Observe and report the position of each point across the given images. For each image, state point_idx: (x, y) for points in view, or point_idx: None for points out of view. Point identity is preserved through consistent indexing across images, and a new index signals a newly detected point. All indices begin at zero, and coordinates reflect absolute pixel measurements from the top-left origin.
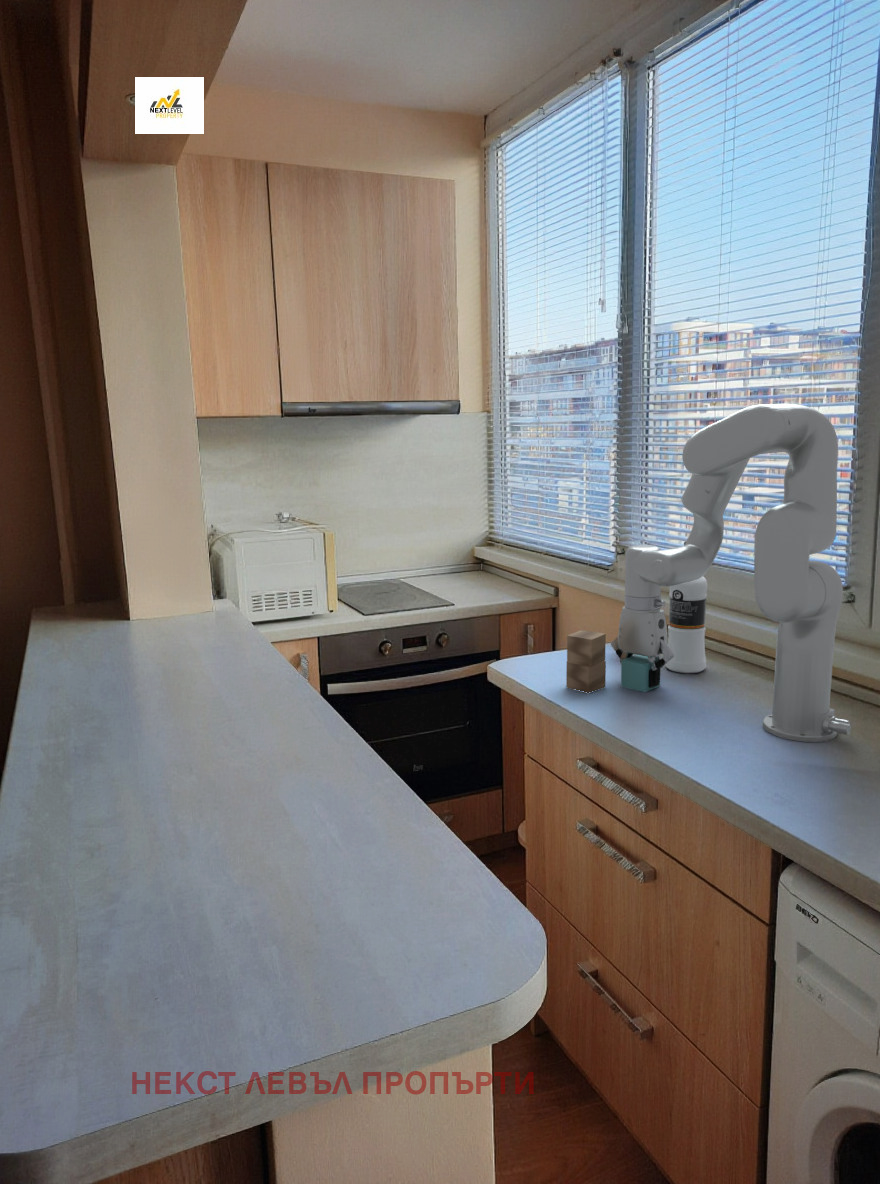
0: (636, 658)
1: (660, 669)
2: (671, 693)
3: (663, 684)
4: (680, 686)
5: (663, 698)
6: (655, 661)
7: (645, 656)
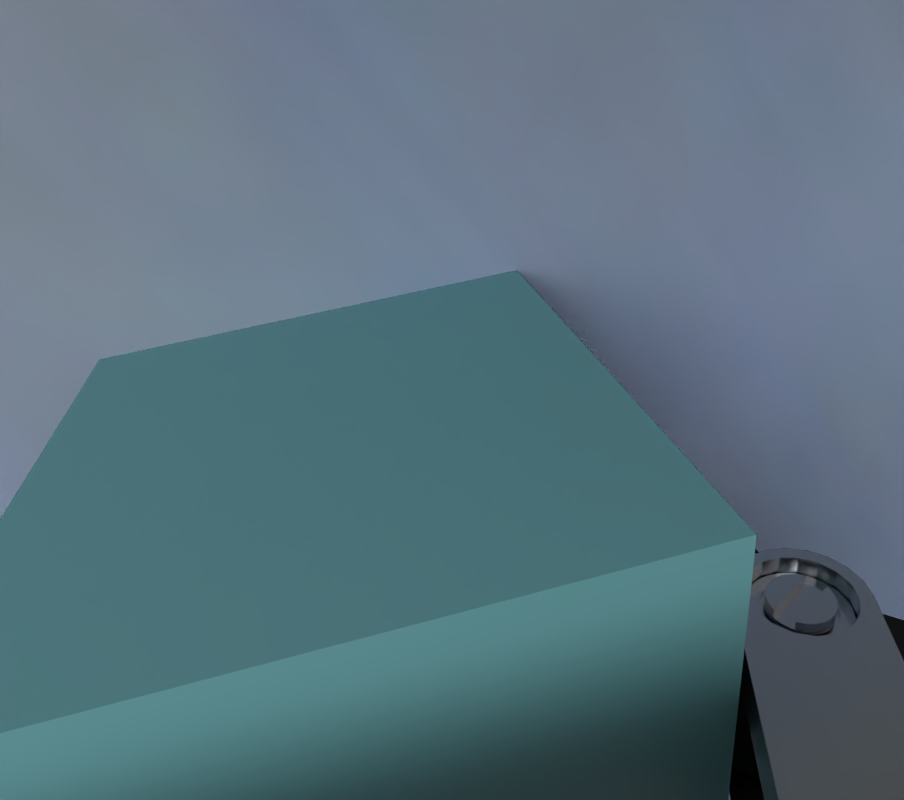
0: None
1: (622, 390)
2: (784, 364)
3: (503, 174)
4: (743, 21)
5: (791, 527)
6: (732, 714)
7: (218, 701)
